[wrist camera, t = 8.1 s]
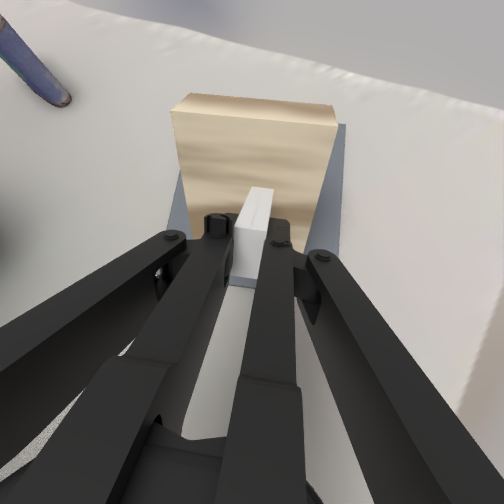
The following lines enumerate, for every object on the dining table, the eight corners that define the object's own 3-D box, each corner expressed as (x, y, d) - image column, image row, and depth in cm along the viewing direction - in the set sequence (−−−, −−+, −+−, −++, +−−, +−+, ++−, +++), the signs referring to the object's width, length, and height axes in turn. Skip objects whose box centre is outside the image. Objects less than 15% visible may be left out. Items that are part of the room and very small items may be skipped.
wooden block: (300, 263, 23) (338, 126, 14) (194, 250, 24) (169, 110, 15) (300, 233, 26) (331, 104, 17) (206, 221, 27) (191, 91, 18)
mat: (334, 298, 25) (335, 298, 24) (158, 275, 26) (156, 274, 25) (344, 127, 29) (345, 124, 29) (194, 113, 30) (193, 110, 30)
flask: (76, 99, 31) (-16, -7, 21) (57, 114, 31) (-46, 13, 21) (34, 61, 33) (-70, -54, 23) (16, 75, 33) (-99, -37, 22)
